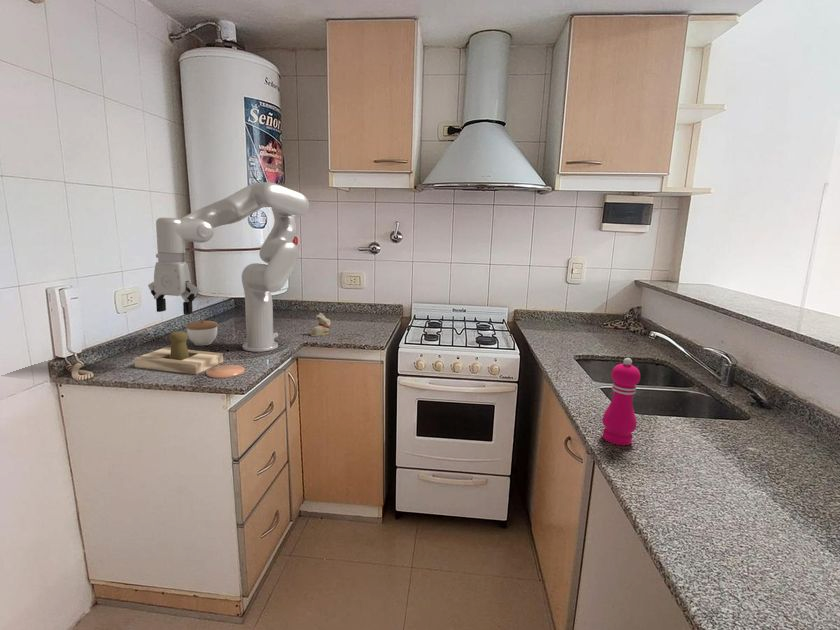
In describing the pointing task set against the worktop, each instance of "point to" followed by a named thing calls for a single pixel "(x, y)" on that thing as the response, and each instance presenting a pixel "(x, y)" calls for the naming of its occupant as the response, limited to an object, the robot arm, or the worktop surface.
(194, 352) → the wooden tray
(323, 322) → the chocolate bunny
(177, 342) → the olive waisted cylinder
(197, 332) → the white bowl
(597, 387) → the worktop surface
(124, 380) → the worktop surface
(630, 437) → the pepper mill
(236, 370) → the coaster
